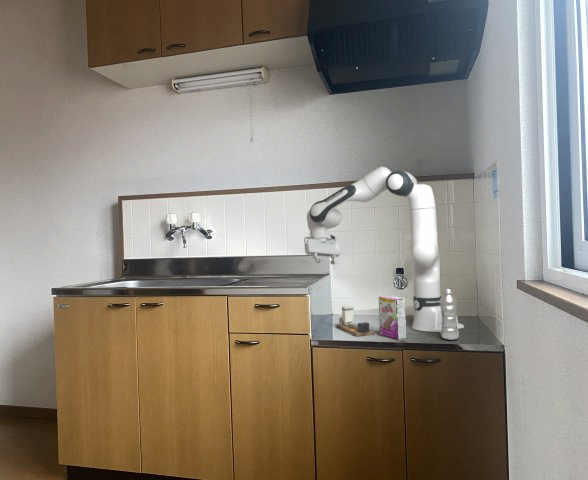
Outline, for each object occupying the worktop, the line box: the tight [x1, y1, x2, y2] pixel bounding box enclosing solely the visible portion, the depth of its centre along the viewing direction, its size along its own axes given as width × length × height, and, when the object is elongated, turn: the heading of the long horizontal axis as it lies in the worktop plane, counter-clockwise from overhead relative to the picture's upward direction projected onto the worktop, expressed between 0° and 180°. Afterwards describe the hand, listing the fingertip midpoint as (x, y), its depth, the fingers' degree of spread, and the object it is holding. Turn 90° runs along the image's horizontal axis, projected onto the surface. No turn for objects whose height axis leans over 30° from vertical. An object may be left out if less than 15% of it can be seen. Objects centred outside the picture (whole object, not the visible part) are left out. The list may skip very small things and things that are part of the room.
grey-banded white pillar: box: [341, 305, 354, 326], centre depth 191 cm, size 4×3×8 cm
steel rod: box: [347, 321, 370, 333], centre depth 185 cm, size 4×20×4 cm, turn 19°
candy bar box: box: [378, 295, 408, 341], centre depth 172 cm, size 11×5×16 cm, turn 30°
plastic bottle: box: [440, 287, 460, 341], centre depth 164 cm, size 6×7×20 cm
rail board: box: [336, 317, 375, 338], centre depth 185 cm, size 8×20×4 cm, turn 19°
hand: (325, 263), depth 204 cm, fingers open, 8 cm apart
